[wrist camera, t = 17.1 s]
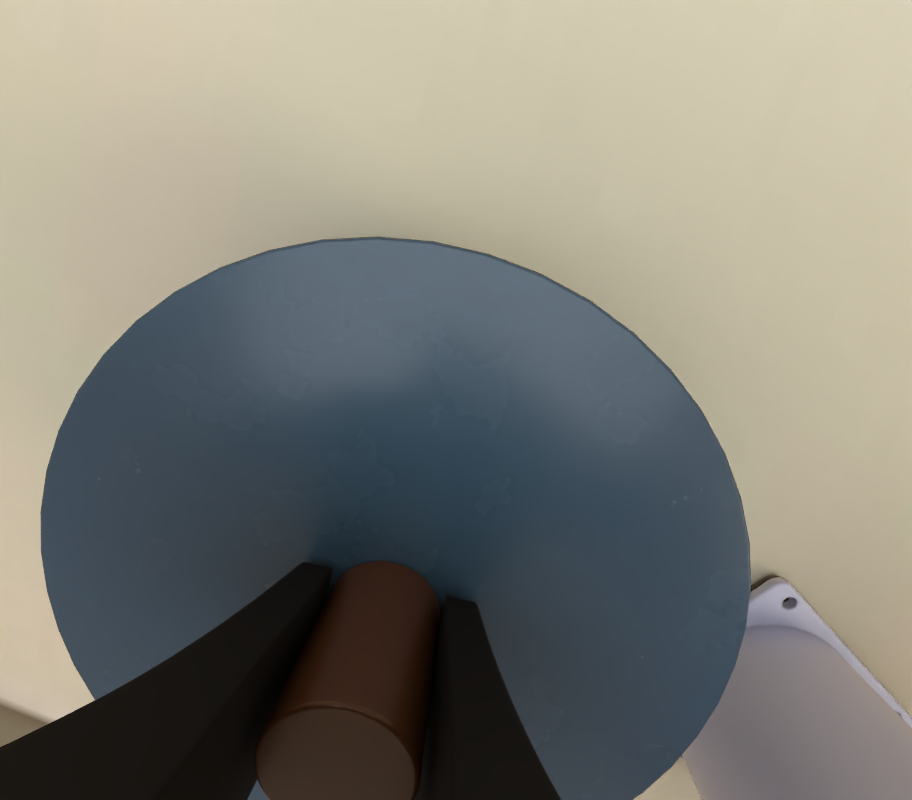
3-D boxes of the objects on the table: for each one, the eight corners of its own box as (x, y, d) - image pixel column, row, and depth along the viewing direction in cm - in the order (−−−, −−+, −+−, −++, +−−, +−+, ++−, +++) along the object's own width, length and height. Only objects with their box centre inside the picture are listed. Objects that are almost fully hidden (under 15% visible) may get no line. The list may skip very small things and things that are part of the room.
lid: (862, 601, 10) (1137, 829, 6) (398, 897, 13) (358, 1191, 9) (386, 59, 8) (281, -189, 4) (-35, 556, 11) (-357, 725, 7)
